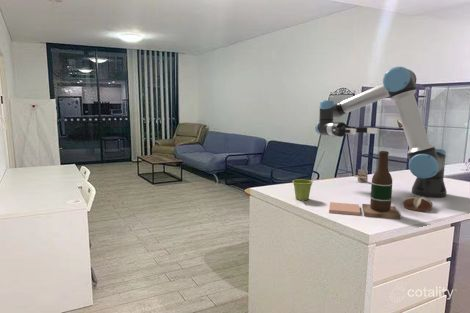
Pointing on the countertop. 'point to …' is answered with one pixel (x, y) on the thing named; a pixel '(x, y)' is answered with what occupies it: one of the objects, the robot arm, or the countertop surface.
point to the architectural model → (362, 175)
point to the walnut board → (370, 212)
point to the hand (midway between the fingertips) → (366, 131)
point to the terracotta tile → (344, 208)
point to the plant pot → (302, 188)
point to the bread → (417, 204)
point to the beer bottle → (381, 185)
